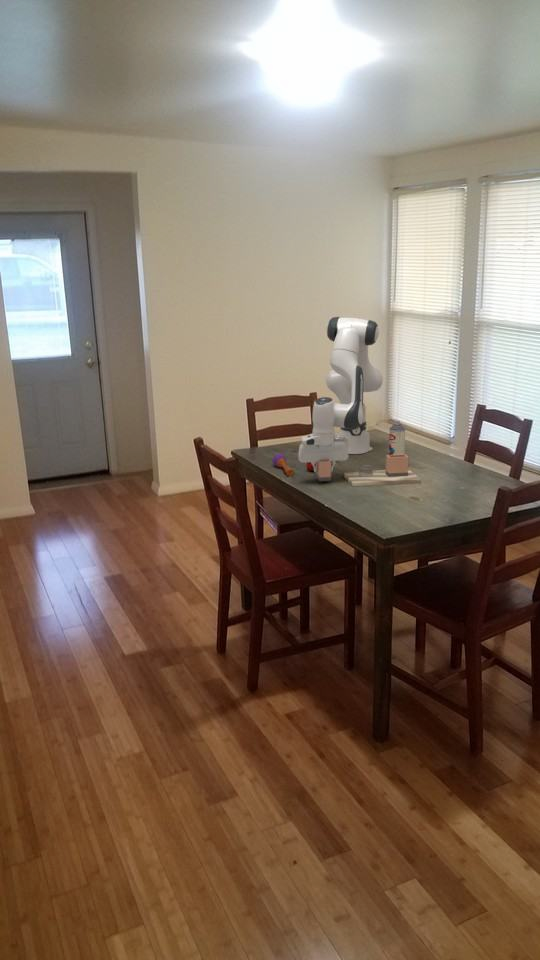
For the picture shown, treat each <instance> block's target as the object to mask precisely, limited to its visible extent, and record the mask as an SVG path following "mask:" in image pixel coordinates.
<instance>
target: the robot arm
mask: <svg viewBox="0 0 540 960" xmlns="http://www.w3.org/2000/svg"><path fill="white" fill-rule="evenodd" d="M379 334H380V331H379V325H378V323H377V322H376V321H374V320H370V319H363V318H360V317H359V318H357V317H340V316H334V317H333V316H332V318H330V319H329V321H328V323H327V326H326V335H327V338H328V339H329V340H330V341H332V342H333V344H332V349H331V353H330V359H329V360H330V361H329V363H330V367H331V368H332V370H330V371H329V372H327V375H326V379H325V382H326V386H327V389H329V391H330V392H332V393H333V394H334V395H335V396H336V398H338V402H339V403H337V402H334V400H333V398H331V397H329V396H327V397H325V396H322V397H318V398H316V399H315V400H314V402H313V407H312V425H313V427H312V433H309V434H306V435H304V436H302V437H301V438H300V440H301V443H300V445H299V447H298V455H297V456H298V458H297V459H298V461H299V462H301V463H303V464H304V463H307V462H311V464H312V465H313V467H314V472H313V473H316V472H318V467H315V465H314V464H315V462H319V460H320V461H328V460H330V461H331V473H333V471H334V467H335V465H336V462H338V461H339V462H341V461H347V460H349V455H360V454H365V453H366V454H367V453H368V452H370V451H373V450H374V449H373V447H372V446H370V433H369V432H368V431H367V426H368V424H367V421H366V415H367V413H366V412H367V410H366V409H367V407H366V404H365V403H364V393H370V392H375V391H379V390H380V389H381V387H382V385H383V381H384V380H383V375H382V373H381V372H380V370H379V369H378V368H375V367H374V366H373V364H371V362H370V360H369V346H372V345H374V344H376V341H377V340H378V338H379ZM335 428H340V429H339V432H338V433H337V435H335V433H336V431H335Z"/></svg>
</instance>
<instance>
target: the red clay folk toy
mask: <svg viewBox="0 0 540 960" xmlns="http://www.w3.org/2000/svg"><path fill="white" fill-rule="evenodd" d="M314 465H315V467H316V462H315V464H314ZM306 470H307V471H310V472H311V471H314V467H313V465H312V464H311V462H306Z"/></svg>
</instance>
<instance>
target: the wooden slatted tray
mask: <svg viewBox="0 0 540 960" xmlns="http://www.w3.org/2000/svg"><path fill="white" fill-rule="evenodd" d="M343 477H344V478H345V479H346V481H348V483H349V484H350V486H352V487H368V486H386V485H387V486H388V485H402V484H403V485H404V484H405V485H406V484H407V485H408V483H410V484H421V482H422V481H421V478H420V477H419V476H418V475H416V474H415V473H414V472H412V470H411V469H409V468H408V476H397V477H388V476H387V475H386V469H383V470H382V469H381V470H379V469H378V470H374V468H373V467H372V465H371V464H370V465H368V464H367V465H360V467H359V470H358V471H344V472H343Z"/></svg>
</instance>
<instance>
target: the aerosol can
mask: <svg viewBox="0 0 540 960" xmlns="http://www.w3.org/2000/svg"><path fill="white" fill-rule="evenodd" d="M388 432H389V434H388V436H389V437H388V440H389V441H388V455H400V454H406V452H405V450H406V449H405V446H406V427H404V426H403V424H401V422H400V420H395V423H393V424H392V426H390V427H389V431H388Z"/></svg>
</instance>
